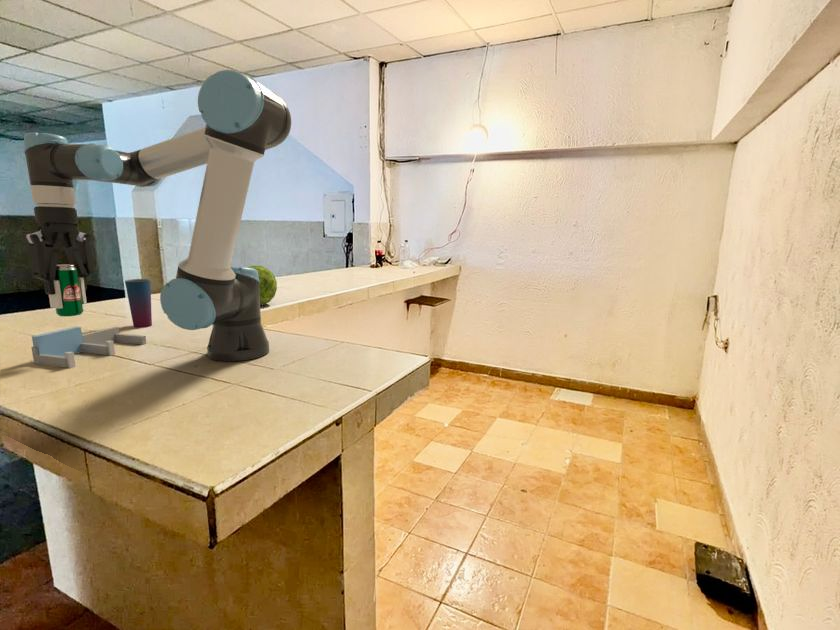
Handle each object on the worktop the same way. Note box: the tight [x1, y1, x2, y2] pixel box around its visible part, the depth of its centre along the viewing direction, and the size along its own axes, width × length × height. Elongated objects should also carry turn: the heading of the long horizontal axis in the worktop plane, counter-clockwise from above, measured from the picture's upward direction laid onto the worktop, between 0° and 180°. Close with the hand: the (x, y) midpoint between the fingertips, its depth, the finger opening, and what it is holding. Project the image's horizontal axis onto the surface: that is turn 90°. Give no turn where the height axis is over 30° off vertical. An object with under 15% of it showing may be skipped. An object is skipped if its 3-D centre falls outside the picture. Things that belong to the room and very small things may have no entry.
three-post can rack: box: [30, 326, 147, 369], centre depth 109 cm, size 11×22×6 cm, turn 167°
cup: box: [124, 278, 153, 329], centre depth 137 cm, size 7×7×15 cm
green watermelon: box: [246, 265, 278, 306], centre depth 180 cm, size 17×23×16 cm
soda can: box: [55, 263, 84, 317], centre depth 102 cm, size 5×5×12 cm
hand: (69, 305), depth 102 cm, fingers closed on soda can, 5 cm apart
